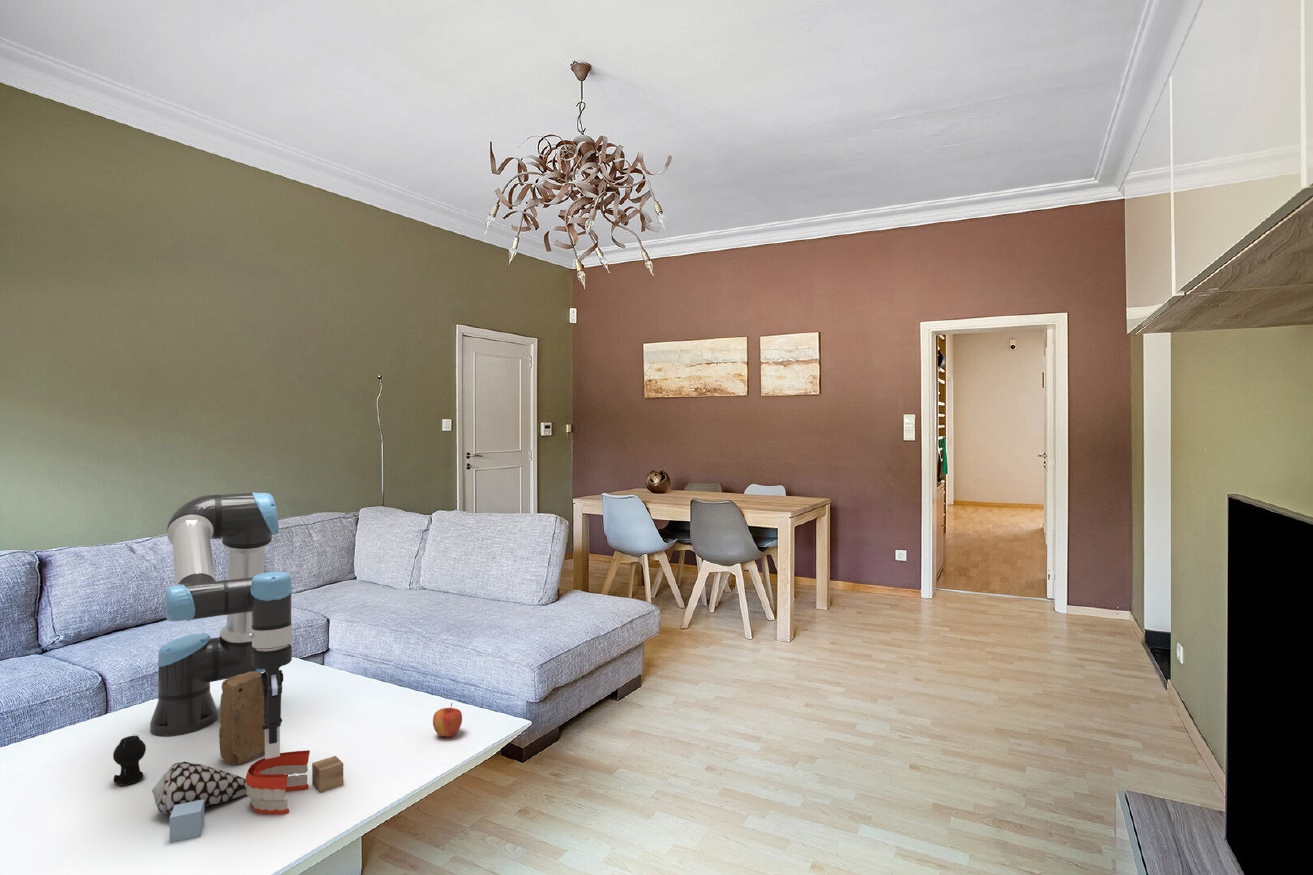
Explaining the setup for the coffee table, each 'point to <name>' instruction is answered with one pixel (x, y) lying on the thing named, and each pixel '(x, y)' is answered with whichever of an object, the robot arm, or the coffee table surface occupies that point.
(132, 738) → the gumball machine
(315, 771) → the walnut block
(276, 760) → the toy
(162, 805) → the seashell
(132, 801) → the coffee table surface
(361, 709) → the coffee table surface
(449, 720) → the apple
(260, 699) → the brown rock
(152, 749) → the coffee table surface
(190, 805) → the slate block
